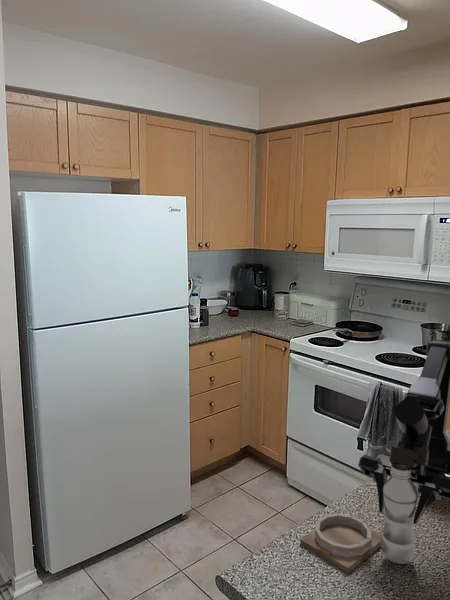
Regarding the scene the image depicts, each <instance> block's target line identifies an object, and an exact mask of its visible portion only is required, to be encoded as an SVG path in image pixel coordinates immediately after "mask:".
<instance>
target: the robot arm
mask: <svg viewBox="0 0 450 600" xmlns="http://www.w3.org/2000/svg"><path fill="white" fill-rule="evenodd" d="M425 356H426V359H425V361H424V364H423V368H422V370H421V373H420V377H419V379H418V380H417V381H415V382H413V383H411V384H410V386H409V388H408V391H407V392H406V393H404V395H403V396H402V398H401V400H400V401H399V402H398V403H397V404H396V405H395V406H394V410H393V412H394V416H395V419H396V422H397V424H398V426H399V428H400V430H401V433H400V437H399V440H398V442H397V446H393V445H391V447H390V453H389V460H388V461H389V463H390V465H389V466H388V465H384V464H383V462H382V460H381V458H380V457H375V456H371V455H367V454H363V455H362V456H360V458H359V461H358V464H357V465H358V468H359V469H360V471H361V473H363V475H365V476H367V477H370V478H372V479H373V481H374V482H375V483H376V489H377V499H378V500H377V501H378V509H379V513H380V514H383V512H384V511H385V504H384V495H383V487H384V484H385V482H386V481H387V480H388V479H387V478H388V477H391V476H392V475H391V474H390V471H391V464H392V463H400V464H404V465H405V466H407V467H411V478H410V479H411V481H412V482H413V483H414V484H417V485H418V487H417V492H418V493H421V494H420V497H419V498H418V499H419V500H418V502H417V505H416V508H415V512H414V521H413V525H417V524H418V523H419V521H420V520H421V518H422V516H423V515H424V514H425V512H426V511H427V510H428V509H429V507H430V506H431V505H432V504H433V503H434V502H435V501H436V500H437V501H442V498H443V499H444V498H445V499H448V500H450V476H449V475H450V440H449V438H448V435H447V433H446V428H447V419H448V411H449V406H450V405H449V403H450V340H443V339H442V340H441V339H434V340H432V341H427V342H426V352H425ZM447 475H448V476H447Z"/></svg>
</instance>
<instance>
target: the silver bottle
mask: <svg viewBox="0 0 450 600" xmlns="http://www.w3.org/2000/svg"><path fill="white" fill-rule="evenodd" d="M390 467H391V471H390V474H391V475H392V476H389V478H388V479H386V480H387V481H386V482H385V484H384V487H383V495H384V504H385V506H384V522H383V529H382V533H381V535H382V536H381V542H380V544H381V546H380V551H381V553H382V554H383V556H384V558H385V559H387V560H388V561H389V562H392V563H394V564H398V565H405V564H409V563H410V562H411V561H412V560H413V559H414V557H415V553H416V543H415V539H414V538H415V537H414V535H415V534H414V523H413V522H414V516H415V512H416V509H417V504H418V499H419V491H418V487H416V485H415V483H413V482H412V481H411V479H410V478H412V477H411V467H407V466H405V465H404V464H400V463H392V464H391V463H390Z"/></svg>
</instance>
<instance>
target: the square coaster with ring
mask: <svg viewBox="0 0 450 600" xmlns="http://www.w3.org/2000/svg"><path fill="white" fill-rule="evenodd" d="M381 536H382V534H381V533H378V532H376V531H375V530H372V529H371V528H370V527H369V525H367V523H366V522H365V521H363V520H361V519H359V518H357V517H356V516H353V515H349V514H343V513H331V514H326V515H325V514H324V516H322V517H321V518H319V519H317V520H316V523H315V528H314V530H312V531H310V532H309V533H308V534H306V535H305V536H303V537H301V538H300V542H299V544H300V546H302V547H304V548H305V549H307V550H308V551H310V552H312V553H314V554H315V555H317V556H319V557H320V558H322V559H324V561H327V562H328V563H330V564H332V565H333V566H335V567H336V568H338V569H340V570H341V571H343V572H345V573H346V574H349V573H350V572H352V571H353V570H354V569H355V568H357V566H359V565H360V564H361V563H362V562H363V561H365V560H366V559H368V557H369V556H370V555H372V554H373V553H374V552H375V551H377V550H378V549H379V548H381V544H380V542H381Z"/></svg>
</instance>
